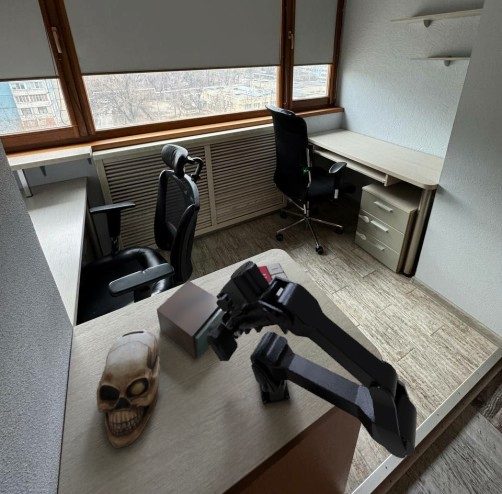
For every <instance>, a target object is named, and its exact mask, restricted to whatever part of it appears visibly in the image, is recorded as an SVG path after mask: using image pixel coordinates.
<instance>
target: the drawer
mask: <svg viewBox="0 0 502 494" xmlns="http://www.w3.org/2000/svg"><path fill="white" fill-rule="evenodd" d="M225 313H226V312H223V311H222V310H221V309H220V308H219V309H218V310H216V312H215V313H214V314H213V315H212V316H211V317H210V319H209V320H208V321H207V322H206V323H205V324H204V326H203V327H202V328H201V329H200V330H199V331H198V333H197V334H196V335H195V337H194V339H195V347H196V355H197V358H201V357H202V356H203V354H204V353H205V352H206V351H207V350H208V348H209V347H210V345H209V344H208V342H207V341H206V339H207V335H208V334H209V333H210V331H211V330H212V329H213V328H214V326H216V325H217V324H218V323H222V324H224V323H223V322H222V320H221V319H222V316H223V315H224V314H225ZM224 325H225V324H224Z"/></svg>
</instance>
